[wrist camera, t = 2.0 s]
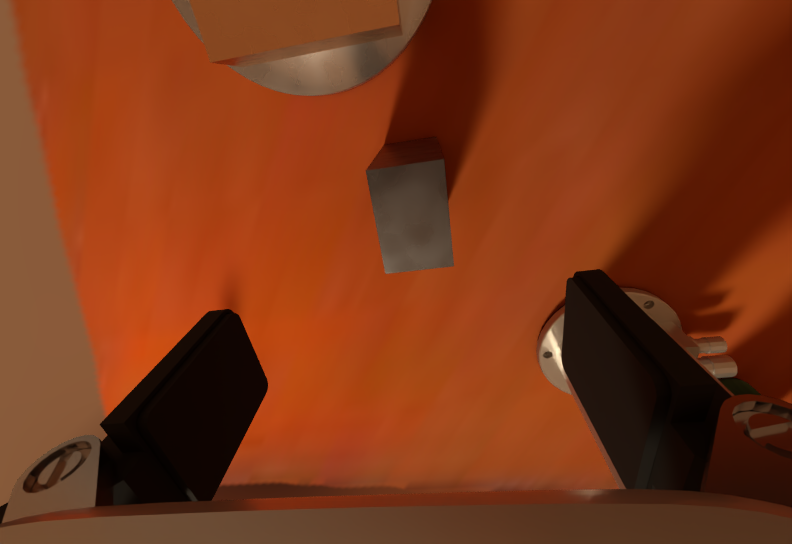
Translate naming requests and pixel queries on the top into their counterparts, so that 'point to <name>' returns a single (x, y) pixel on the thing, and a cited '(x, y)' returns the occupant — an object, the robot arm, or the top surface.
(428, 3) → the beige piece
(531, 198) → the top surface
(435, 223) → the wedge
